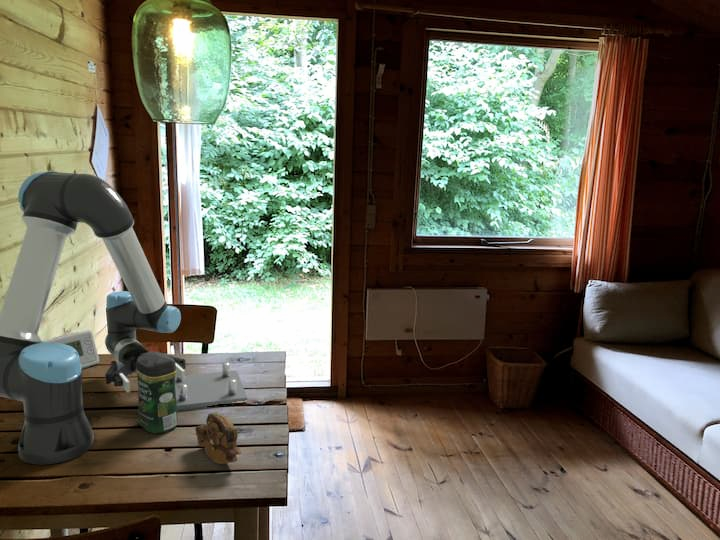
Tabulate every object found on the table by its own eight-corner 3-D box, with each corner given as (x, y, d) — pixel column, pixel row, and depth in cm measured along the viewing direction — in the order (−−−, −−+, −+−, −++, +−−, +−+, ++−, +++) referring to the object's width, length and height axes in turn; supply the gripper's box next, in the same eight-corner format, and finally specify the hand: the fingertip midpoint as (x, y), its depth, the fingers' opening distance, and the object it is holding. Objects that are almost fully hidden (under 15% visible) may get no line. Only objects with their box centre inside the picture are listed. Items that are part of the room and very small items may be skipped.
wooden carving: (188, 449, 132) (187, 408, 129) (205, 442, 135) (204, 402, 133) (230, 478, 121) (230, 434, 119) (248, 469, 124) (248, 427, 122)
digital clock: (46, 380, 166) (43, 345, 163) (37, 370, 172) (34, 337, 170) (103, 367, 176) (102, 334, 174) (93, 359, 183) (91, 327, 181)
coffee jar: (133, 424, 142) (130, 353, 138) (163, 414, 148) (160, 346, 144) (152, 438, 136) (149, 364, 132) (182, 427, 141) (181, 356, 137)
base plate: (247, 402, 156) (247, 383, 155) (170, 411, 149) (169, 392, 148) (236, 375, 174) (236, 358, 173) (167, 381, 167) (166, 364, 166)
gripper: (176, 359, 167) (205, 384, 150) (84, 377, 152) (104, 407, 136) (176, 335, 165) (204, 358, 149) (82, 350, 151) (102, 377, 134)
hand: (156, 381), depth 142 cm, fingers open, 13 cm apart
